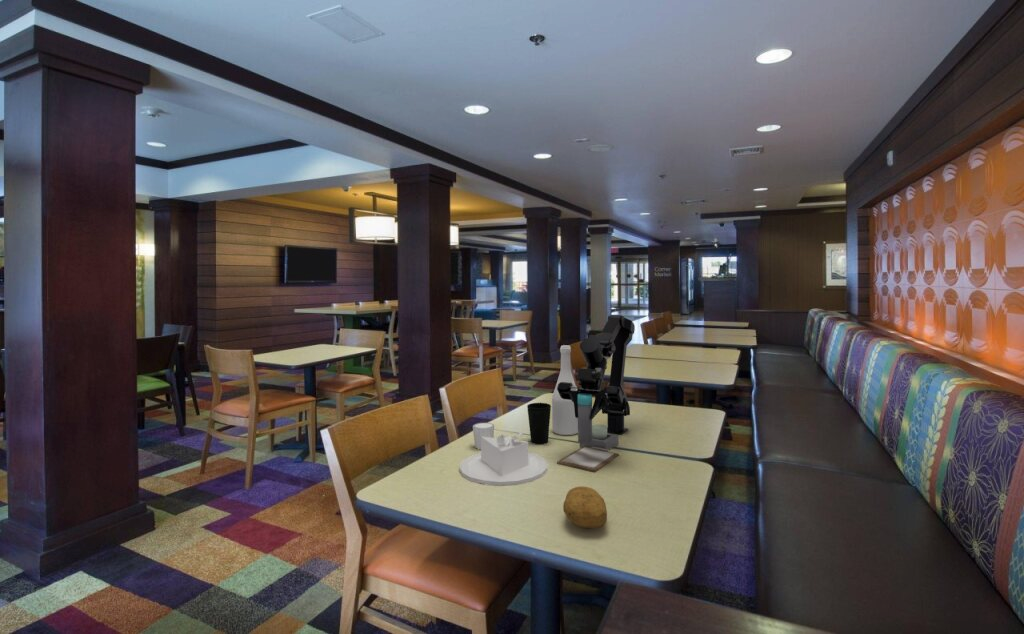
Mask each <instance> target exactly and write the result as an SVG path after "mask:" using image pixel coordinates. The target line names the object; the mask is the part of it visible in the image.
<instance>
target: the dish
mask: <svg viewBox="0 0 1024 634" xmlns="http://www.w3.org/2000/svg"><path fill="white" fill-rule="evenodd" d="M522 436H524V433H522V432H519V433H517V434H516V435H514V437H510V436H509V435H504V434H499V435H498V437H493V438H490V437H481V450H480V452H477V453H474V454H472V455H469V456H467V457H465V458H464V459H463V460H461V462H460V464H459V467H458V468H459V470H460V471H459V472H461V473H460V474H461V476H462V477H463V476H464V479H466V478H467V480H468V481H470V482H472V481H473V482H474V483H476V482H477V484H480V483H481V485H484V484H488V486H497V485H499V487H502V486H518V485H522V484H527V483H531V482H534V481H536V480H539V479H541V478H542V477H543V476H545V474H546V473H548V461H547V460H546V459H544V458H543V456H541V455H539V454H536V453H535V452H534V453H533V452H529V441H524V440H517V439H518V438H520V437H522Z"/></svg>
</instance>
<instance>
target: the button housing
mask: <svg viewBox="0 0 1024 634" xmlns="http://www.w3.org/2000/svg"><path fill="white" fill-rule="evenodd" d="M618 445H619V434H615V433H610V432H607V439H605V440H599V439H594V438H592V442H591V443H580V442H579V448H581V447H583V446H584V447H589V448H591V447H593V446H594V447H599V448H604V449H608V450H609V451H610V450H611V449H613V448H615V447H616V446H618Z"/></svg>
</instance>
